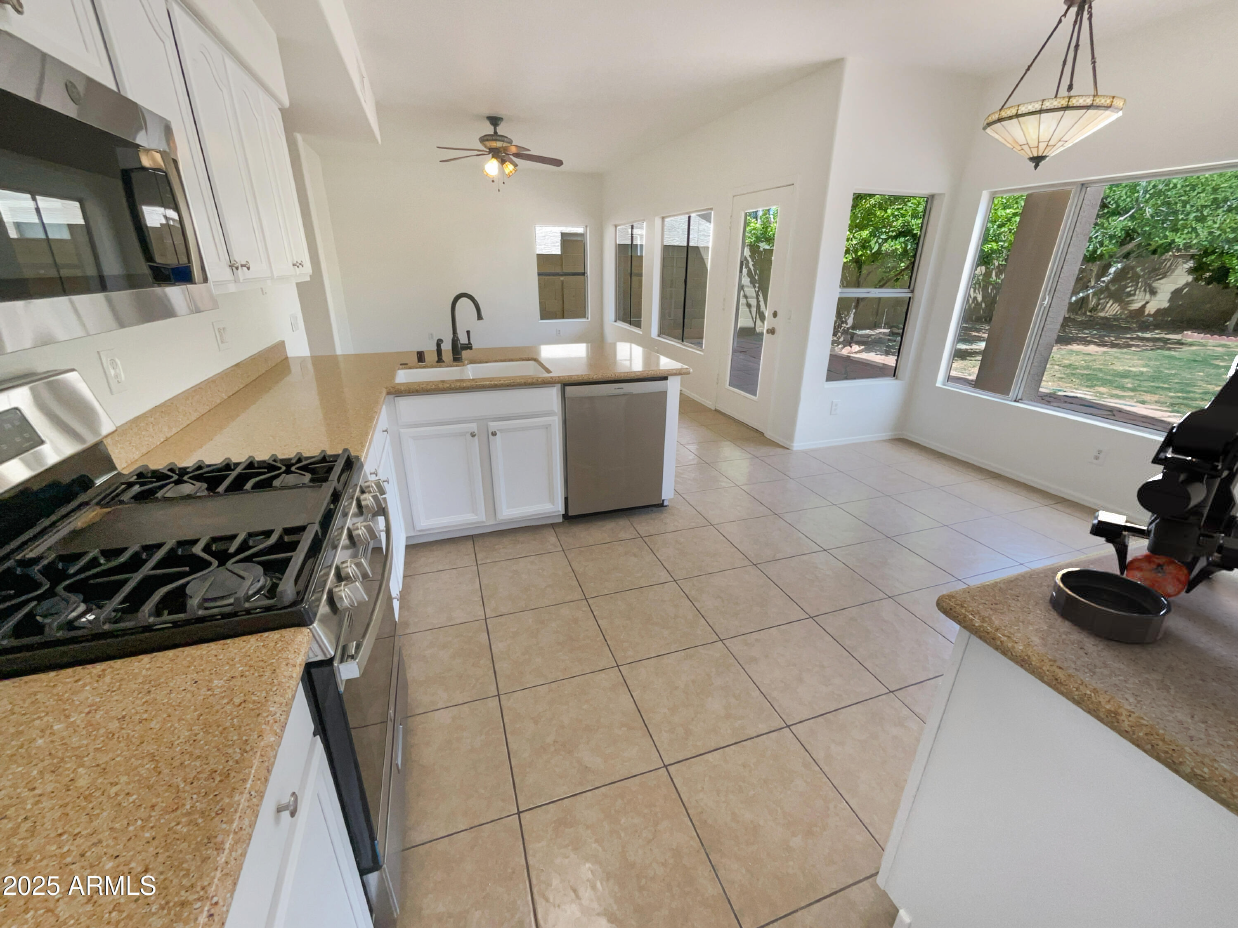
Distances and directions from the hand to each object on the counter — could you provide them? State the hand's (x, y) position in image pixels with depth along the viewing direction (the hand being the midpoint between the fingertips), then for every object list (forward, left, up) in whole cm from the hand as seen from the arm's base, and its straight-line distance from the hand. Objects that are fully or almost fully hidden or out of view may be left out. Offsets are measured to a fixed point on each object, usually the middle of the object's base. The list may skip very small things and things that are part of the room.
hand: (1152, 583), depth 86 cm
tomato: (0, 0, -2) cm, 2 cm away
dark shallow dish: (+14, -5, -2) cm, 15 cm away
